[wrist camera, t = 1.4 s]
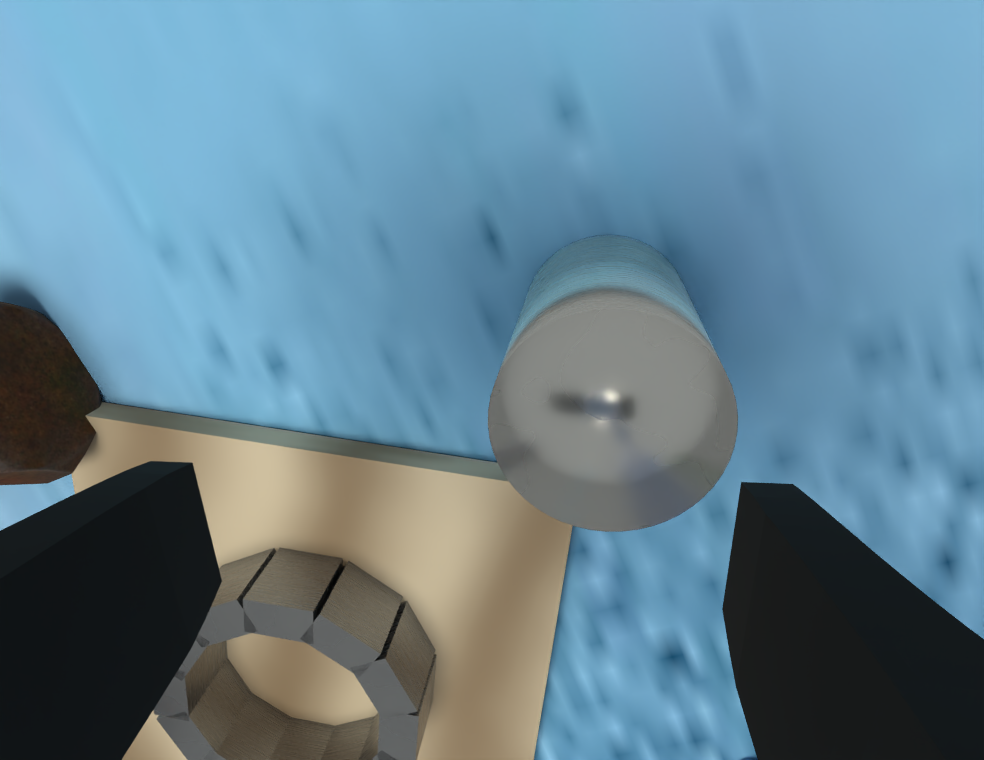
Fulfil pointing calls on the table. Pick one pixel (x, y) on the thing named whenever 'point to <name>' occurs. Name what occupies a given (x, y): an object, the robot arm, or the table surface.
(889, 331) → the table surface
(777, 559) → the robot arm
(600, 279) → the cylinder
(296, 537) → the ring board
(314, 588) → the steel ring
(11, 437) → the bolt
